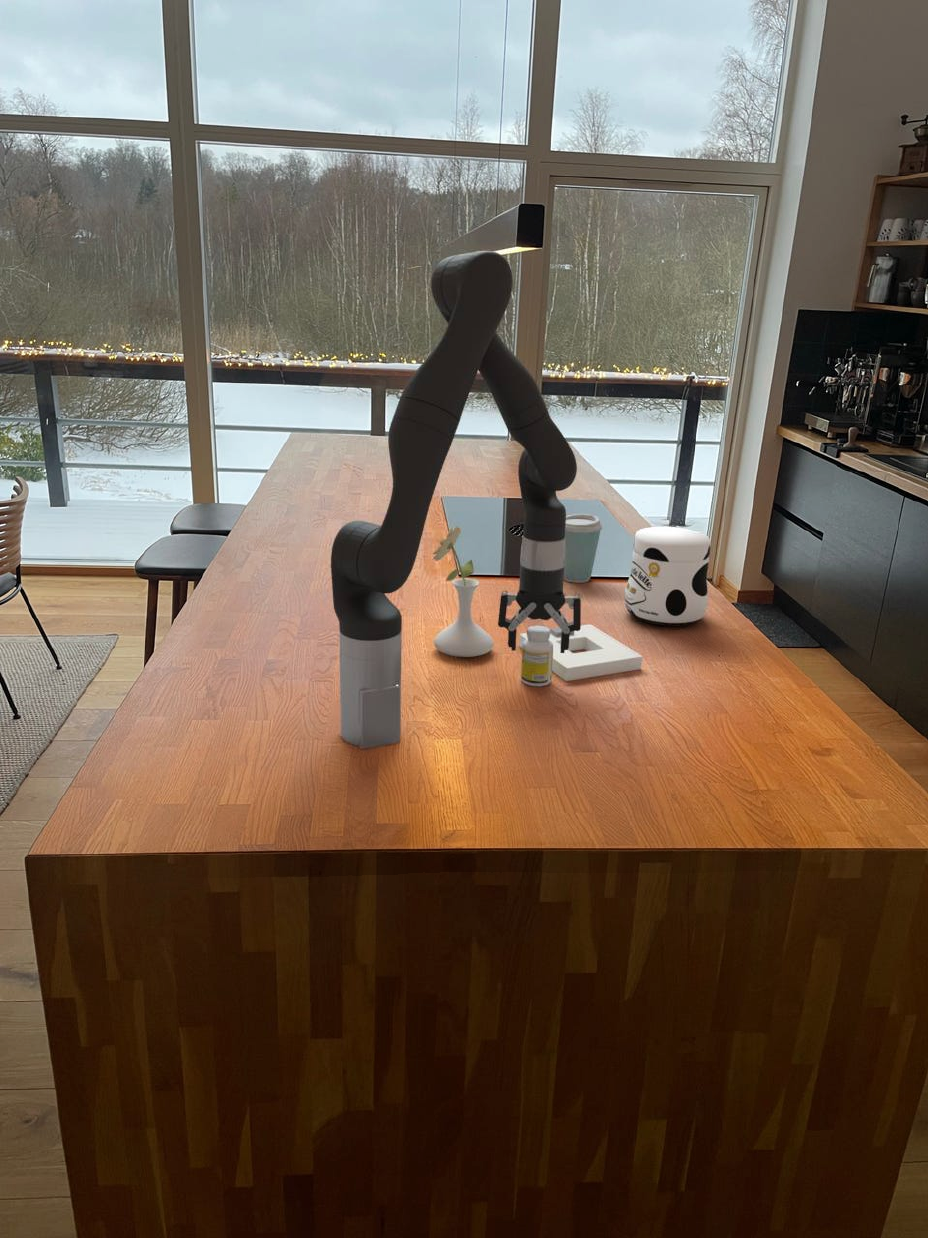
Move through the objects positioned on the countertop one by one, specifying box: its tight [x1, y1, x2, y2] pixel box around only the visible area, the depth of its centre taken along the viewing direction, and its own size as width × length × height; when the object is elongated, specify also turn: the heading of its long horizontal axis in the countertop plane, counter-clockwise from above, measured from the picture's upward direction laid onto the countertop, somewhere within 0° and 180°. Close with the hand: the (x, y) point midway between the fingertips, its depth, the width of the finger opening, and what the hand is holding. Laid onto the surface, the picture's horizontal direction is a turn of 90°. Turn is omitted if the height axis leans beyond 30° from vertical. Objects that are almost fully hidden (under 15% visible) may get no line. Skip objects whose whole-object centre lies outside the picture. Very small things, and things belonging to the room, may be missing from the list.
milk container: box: [624, 526, 711, 627], centre depth 199 cm, size 17×17×18 cm
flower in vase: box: [432, 525, 495, 658], centre depth 175 cm, size 13×11×25 cm
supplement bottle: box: [520, 625, 553, 687], centre depth 166 cm, size 5×5×10 cm
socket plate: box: [518, 623, 643, 682], centre depth 178 cm, size 18×16×3 cm
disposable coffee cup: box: [564, 513, 603, 584], centre depth 223 cm, size 11×11×15 cm
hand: (537, 650), depth 166 cm, fingers open, 8 cm apart
